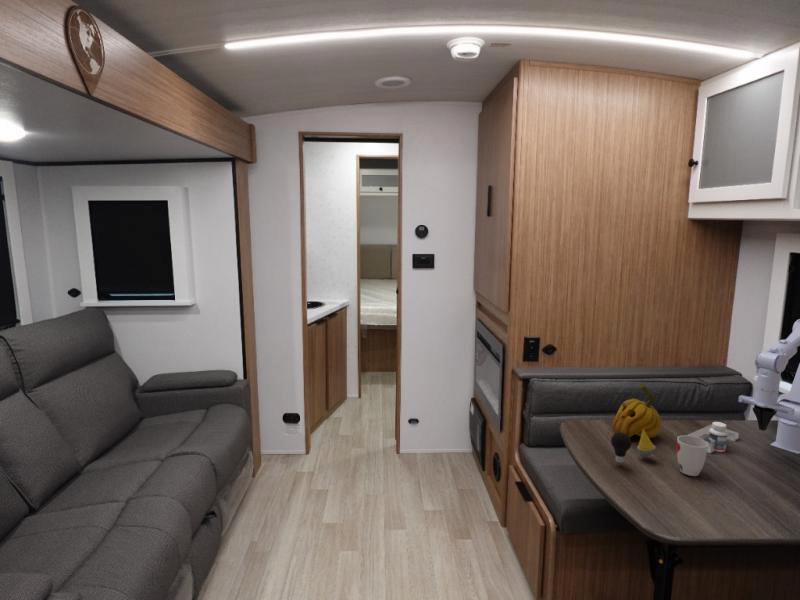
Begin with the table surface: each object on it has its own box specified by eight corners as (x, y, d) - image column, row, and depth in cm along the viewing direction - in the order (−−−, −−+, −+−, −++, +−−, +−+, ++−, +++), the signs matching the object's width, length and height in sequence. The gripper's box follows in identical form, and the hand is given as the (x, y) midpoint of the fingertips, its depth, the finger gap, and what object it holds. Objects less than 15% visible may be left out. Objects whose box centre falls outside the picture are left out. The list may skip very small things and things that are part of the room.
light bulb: (606, 463, 152) (608, 433, 150) (613, 456, 156) (615, 427, 155) (626, 469, 148) (628, 438, 146) (632, 462, 152) (634, 433, 151)
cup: (678, 462, 152) (681, 433, 151) (708, 472, 147) (711, 441, 145) (670, 471, 147) (673, 441, 145) (700, 481, 141) (704, 449, 139)
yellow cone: (659, 460, 152) (654, 431, 151) (641, 462, 153) (636, 433, 152) (654, 453, 157) (649, 424, 156) (636, 455, 159) (632, 426, 158)
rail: (710, 430, 177) (711, 424, 177) (737, 439, 170) (738, 433, 169) (682, 443, 166) (683, 436, 166) (710, 453, 159) (711, 446, 159)
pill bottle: (704, 444, 165) (707, 420, 164) (720, 445, 165) (723, 421, 163) (712, 451, 160) (715, 426, 159) (729, 452, 160) (732, 427, 158)
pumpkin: (649, 459, 166) (684, 413, 166) (618, 436, 163) (653, 389, 162) (625, 441, 180) (657, 398, 179) (595, 419, 176) (628, 376, 175)
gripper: (735, 384, 156) (731, 424, 158) (789, 398, 144) (784, 440, 146) (745, 381, 160) (741, 419, 162) (799, 393, 148) (793, 435, 150)
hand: (762, 429), depth 154 cm, fingers closed
